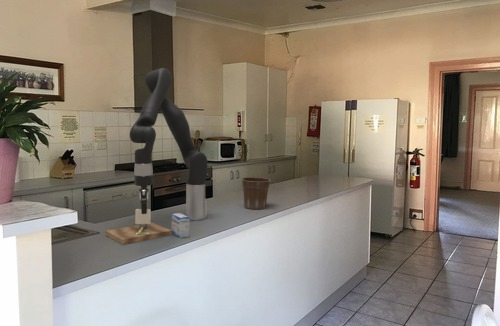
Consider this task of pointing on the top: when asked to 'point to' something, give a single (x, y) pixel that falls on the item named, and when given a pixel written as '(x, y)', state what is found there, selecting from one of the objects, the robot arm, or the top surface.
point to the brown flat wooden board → (132, 235)
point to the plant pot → (255, 192)
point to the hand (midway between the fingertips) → (144, 211)
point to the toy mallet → (142, 219)
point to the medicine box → (180, 225)
